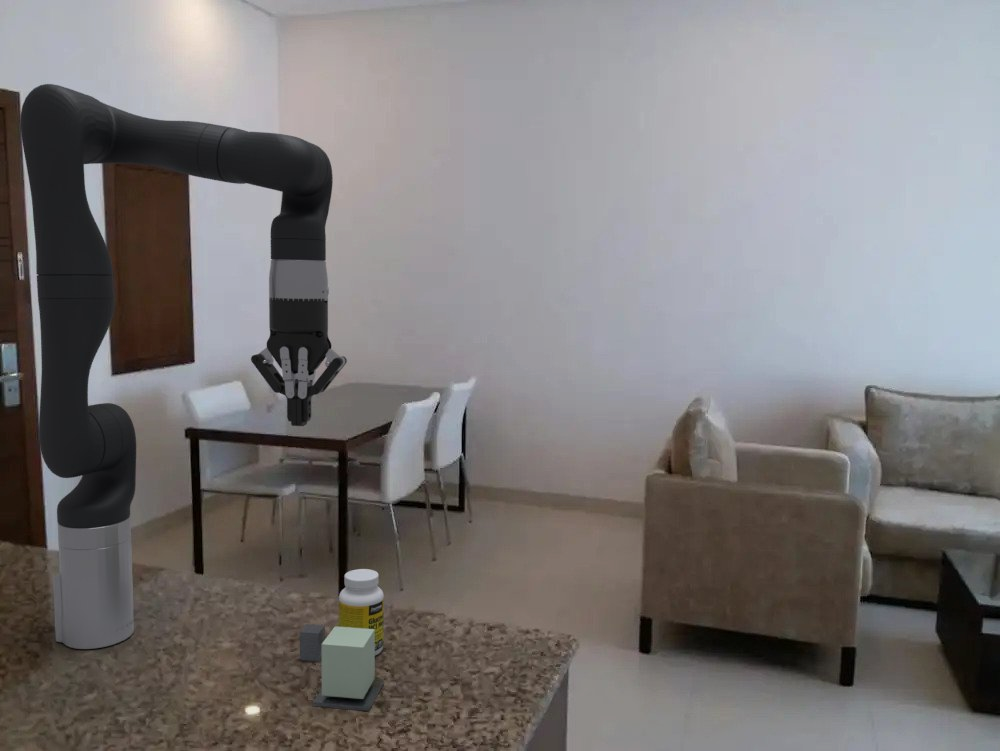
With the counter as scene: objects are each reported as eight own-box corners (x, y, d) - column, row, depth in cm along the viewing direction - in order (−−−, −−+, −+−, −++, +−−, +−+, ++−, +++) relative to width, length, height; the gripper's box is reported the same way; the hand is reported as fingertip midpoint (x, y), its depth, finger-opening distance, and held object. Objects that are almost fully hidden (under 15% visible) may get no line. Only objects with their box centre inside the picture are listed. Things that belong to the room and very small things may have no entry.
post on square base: (312, 705, 101) (312, 651, 100) (331, 678, 108) (331, 627, 107) (368, 710, 100) (368, 655, 99) (383, 682, 107) (384, 631, 106)
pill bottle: (374, 663, 113) (374, 584, 111) (331, 657, 114) (331, 580, 112) (389, 643, 119) (390, 568, 117) (348, 638, 120) (348, 564, 119)
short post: (299, 660, 113) (299, 632, 112) (306, 651, 115) (306, 624, 115) (318, 661, 113) (318, 633, 112) (324, 653, 115) (324, 625, 115)
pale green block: (321, 695, 102) (321, 644, 101) (335, 675, 107) (335, 626, 106) (363, 699, 101) (363, 647, 100) (374, 678, 106) (374, 629, 105)
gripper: (238, 294, 106) (240, 428, 108) (338, 297, 105) (338, 432, 107) (262, 293, 114) (263, 418, 116) (355, 295, 112) (355, 422, 114)
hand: (299, 425), depth 111 cm, fingers closed
